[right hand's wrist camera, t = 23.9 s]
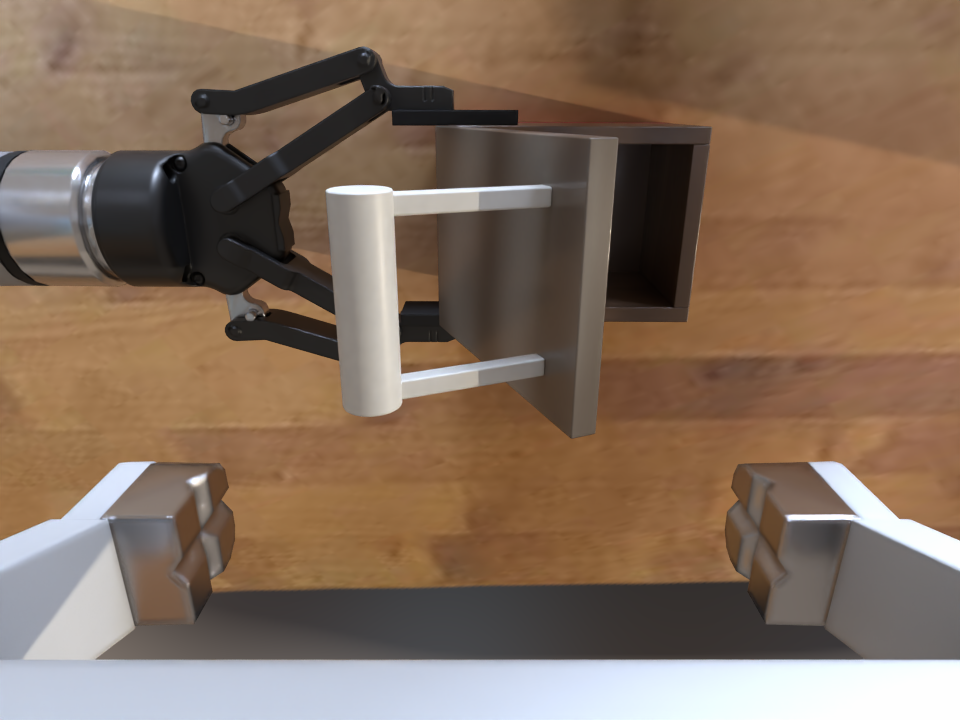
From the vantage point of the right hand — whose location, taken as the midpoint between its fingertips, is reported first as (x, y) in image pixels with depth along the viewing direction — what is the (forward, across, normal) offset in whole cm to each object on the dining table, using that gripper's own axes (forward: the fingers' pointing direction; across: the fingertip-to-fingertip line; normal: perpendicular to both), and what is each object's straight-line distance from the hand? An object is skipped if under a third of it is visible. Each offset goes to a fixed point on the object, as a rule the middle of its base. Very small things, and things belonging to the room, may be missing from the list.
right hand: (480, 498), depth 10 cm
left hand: (+28, +2, 0) cm, 28 cm away
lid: (+19, +2, 0) cm, 19 cm away
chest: (+35, +5, 0) cm, 35 cm away
